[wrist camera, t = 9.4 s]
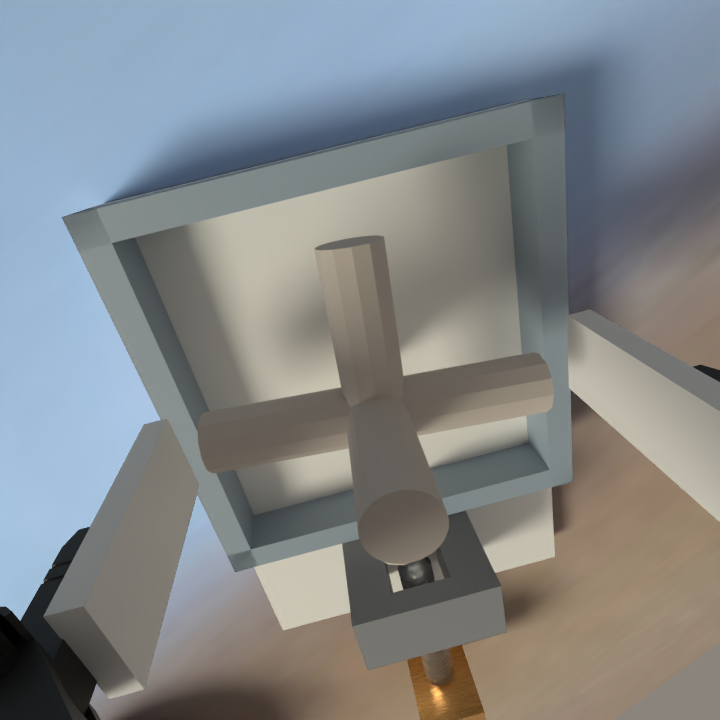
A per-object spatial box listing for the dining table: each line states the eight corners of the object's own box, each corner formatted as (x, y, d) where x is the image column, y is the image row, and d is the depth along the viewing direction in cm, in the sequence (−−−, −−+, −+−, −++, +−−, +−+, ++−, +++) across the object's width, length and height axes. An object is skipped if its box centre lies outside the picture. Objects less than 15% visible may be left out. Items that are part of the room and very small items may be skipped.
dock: (102, 203, 16) (17, 231, 11) (516, 101, 17) (614, 84, 12) (283, 610, 26) (281, 722, 21) (544, 539, 26) (603, 633, 21)
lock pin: (375, 543, 24) (391, 624, 20) (436, 527, 24) (464, 604, 20) (411, 672, 29) (431, 757, 25) (462, 658, 29) (489, 741, 25)
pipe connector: (476, 201, 17) (670, 225, 8) (492, 439, 20) (636, 654, 11) (200, 250, 17) (50, 336, 7) (266, 481, 20) (220, 735, 11)
